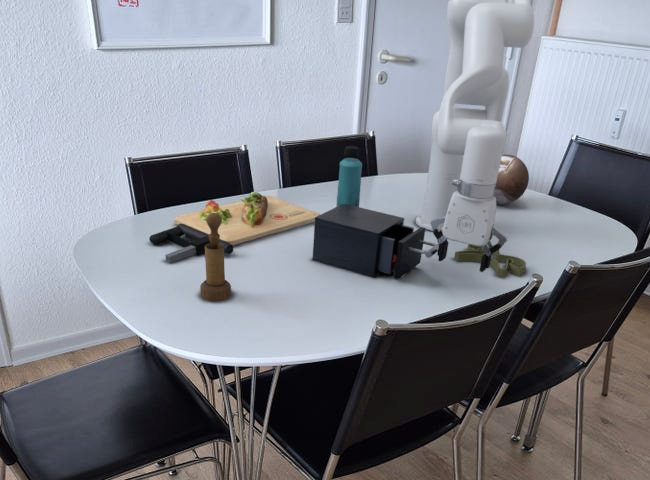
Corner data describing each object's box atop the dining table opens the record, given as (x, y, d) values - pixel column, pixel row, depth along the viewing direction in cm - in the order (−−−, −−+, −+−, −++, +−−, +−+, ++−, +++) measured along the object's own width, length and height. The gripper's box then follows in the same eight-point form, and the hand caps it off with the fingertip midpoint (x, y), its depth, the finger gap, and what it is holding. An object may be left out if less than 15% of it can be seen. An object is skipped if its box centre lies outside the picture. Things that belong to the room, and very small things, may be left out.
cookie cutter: (446, 257, 165) (448, 249, 164) (474, 247, 172) (475, 240, 171) (508, 281, 154) (510, 273, 153) (535, 269, 161) (536, 261, 160)
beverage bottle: (356, 222, 184) (363, 150, 174) (333, 220, 185) (338, 148, 175) (359, 215, 189) (366, 145, 179) (337, 213, 190) (342, 143, 180)
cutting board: (226, 249, 162) (225, 220, 158) (171, 223, 176) (169, 196, 172) (323, 220, 184) (324, 194, 180) (267, 200, 198) (268, 175, 194)
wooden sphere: (474, 207, 202) (483, 158, 194) (474, 193, 214) (483, 147, 206) (524, 213, 199) (535, 163, 191) (521, 199, 212) (531, 152, 204)
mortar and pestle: (201, 288, 142) (198, 208, 133) (231, 288, 143) (230, 208, 133) (199, 301, 136) (196, 218, 127) (230, 302, 137) (230, 219, 128)
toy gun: (185, 261, 148) (237, 240, 158) (133, 237, 160) (185, 219, 169) (186, 274, 150) (238, 253, 160) (135, 249, 161) (186, 231, 171)
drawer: (443, 269, 156) (449, 233, 151) (422, 286, 146) (428, 249, 142) (363, 247, 165) (367, 213, 160) (339, 262, 156) (342, 227, 151)
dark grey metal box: (398, 259, 162) (404, 217, 156) (373, 277, 152) (378, 233, 146) (340, 244, 169) (343, 203, 164) (312, 260, 159) (314, 217, 153)
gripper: (431, 185, 138) (419, 260, 147) (511, 201, 130) (494, 280, 139) (444, 177, 143) (432, 250, 152) (522, 193, 136) (505, 269, 145)
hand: (462, 264), depth 146 cm, fingers open, 9 cm apart
